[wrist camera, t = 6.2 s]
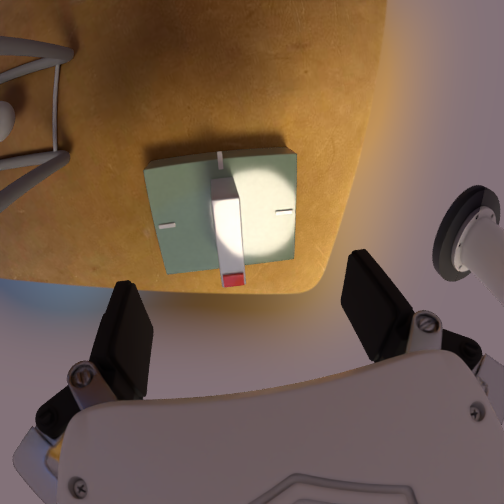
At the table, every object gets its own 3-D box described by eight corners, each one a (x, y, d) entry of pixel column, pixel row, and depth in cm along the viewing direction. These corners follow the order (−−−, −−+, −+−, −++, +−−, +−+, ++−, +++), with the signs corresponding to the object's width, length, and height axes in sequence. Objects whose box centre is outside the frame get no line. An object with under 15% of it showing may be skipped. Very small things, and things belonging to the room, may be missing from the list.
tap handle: (210, 179, 20) (211, 201, 16) (233, 176, 20) (240, 198, 16) (219, 255, 24) (222, 289, 20) (239, 252, 24) (246, 286, 20)
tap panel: (286, 140, 22) (298, 146, 20) (286, 248, 28) (294, 265, 26) (149, 154, 21) (141, 163, 18) (171, 261, 27) (168, 281, 25)
